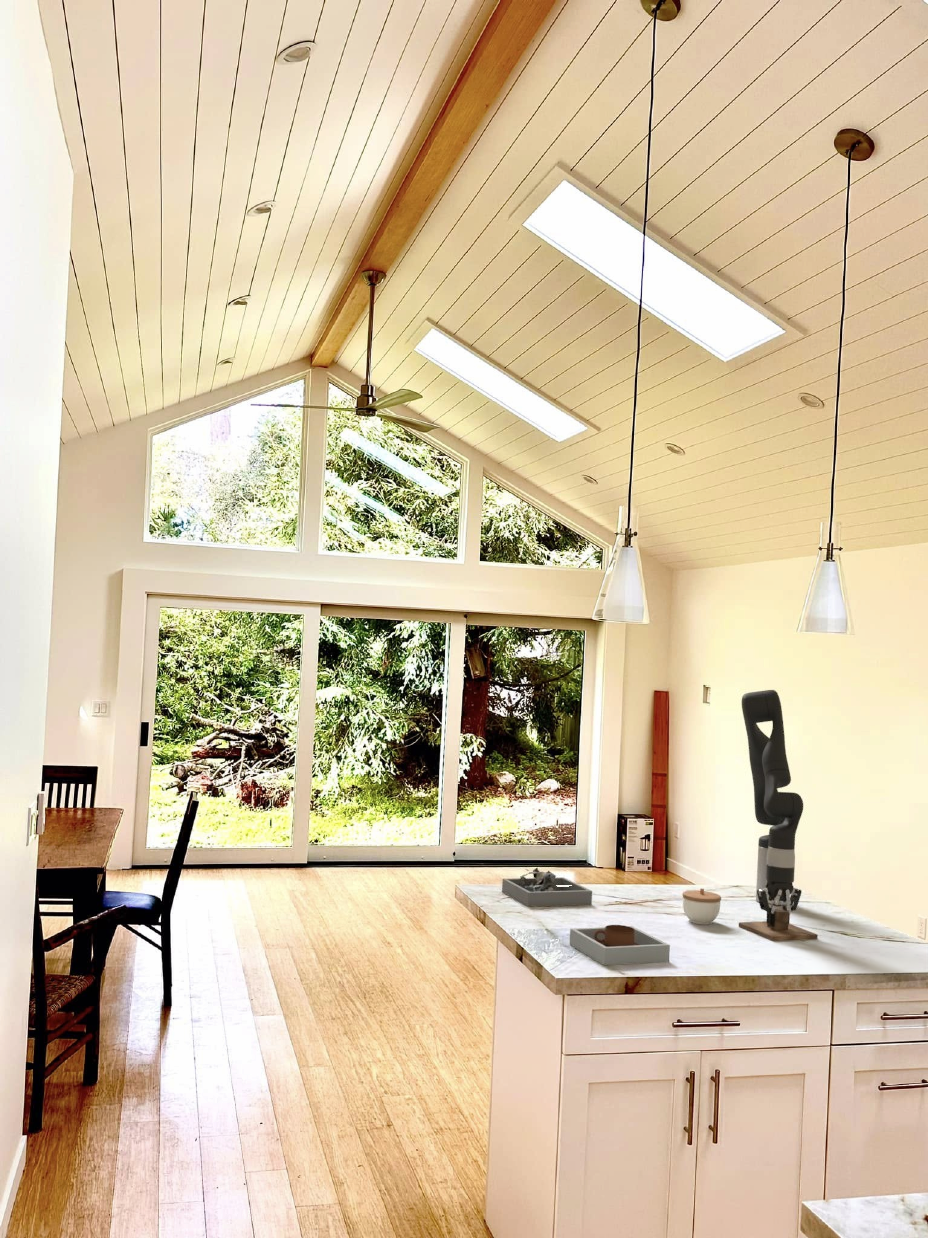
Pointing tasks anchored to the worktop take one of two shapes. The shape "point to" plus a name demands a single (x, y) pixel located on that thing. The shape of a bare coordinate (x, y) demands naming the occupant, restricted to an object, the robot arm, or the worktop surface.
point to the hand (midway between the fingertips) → (777, 925)
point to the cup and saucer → (617, 936)
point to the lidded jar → (701, 906)
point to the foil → (538, 881)
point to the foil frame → (548, 893)
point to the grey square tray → (620, 947)
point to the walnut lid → (778, 928)
